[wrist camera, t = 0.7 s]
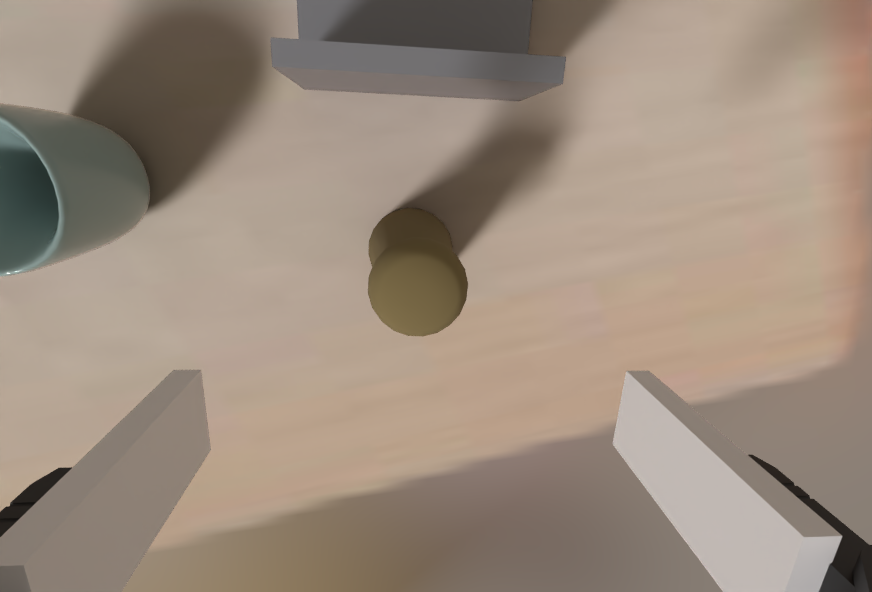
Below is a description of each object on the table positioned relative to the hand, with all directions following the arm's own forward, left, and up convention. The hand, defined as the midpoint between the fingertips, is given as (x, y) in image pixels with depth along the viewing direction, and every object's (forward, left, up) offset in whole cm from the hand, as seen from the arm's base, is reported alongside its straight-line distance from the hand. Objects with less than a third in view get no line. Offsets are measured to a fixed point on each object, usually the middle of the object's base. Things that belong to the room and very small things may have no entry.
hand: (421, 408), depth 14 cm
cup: (-17, -10, -20) cm, 28 cm away
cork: (0, +1, -20) cm, 20 cm away
